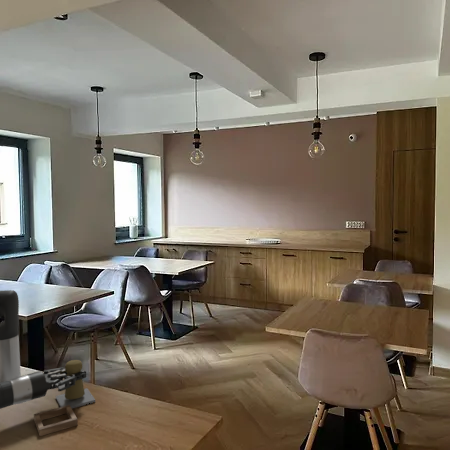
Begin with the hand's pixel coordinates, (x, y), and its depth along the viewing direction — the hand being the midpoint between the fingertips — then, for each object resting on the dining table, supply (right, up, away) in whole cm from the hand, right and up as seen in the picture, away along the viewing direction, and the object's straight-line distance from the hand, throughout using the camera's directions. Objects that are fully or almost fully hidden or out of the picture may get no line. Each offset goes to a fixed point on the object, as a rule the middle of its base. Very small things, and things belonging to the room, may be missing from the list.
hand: (82, 371), depth 137 cm
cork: (-2, -7, -1) cm, 8 cm away
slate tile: (-2, -9, -1) cm, 9 cm away
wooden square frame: (-3, -10, -15) cm, 18 cm away
